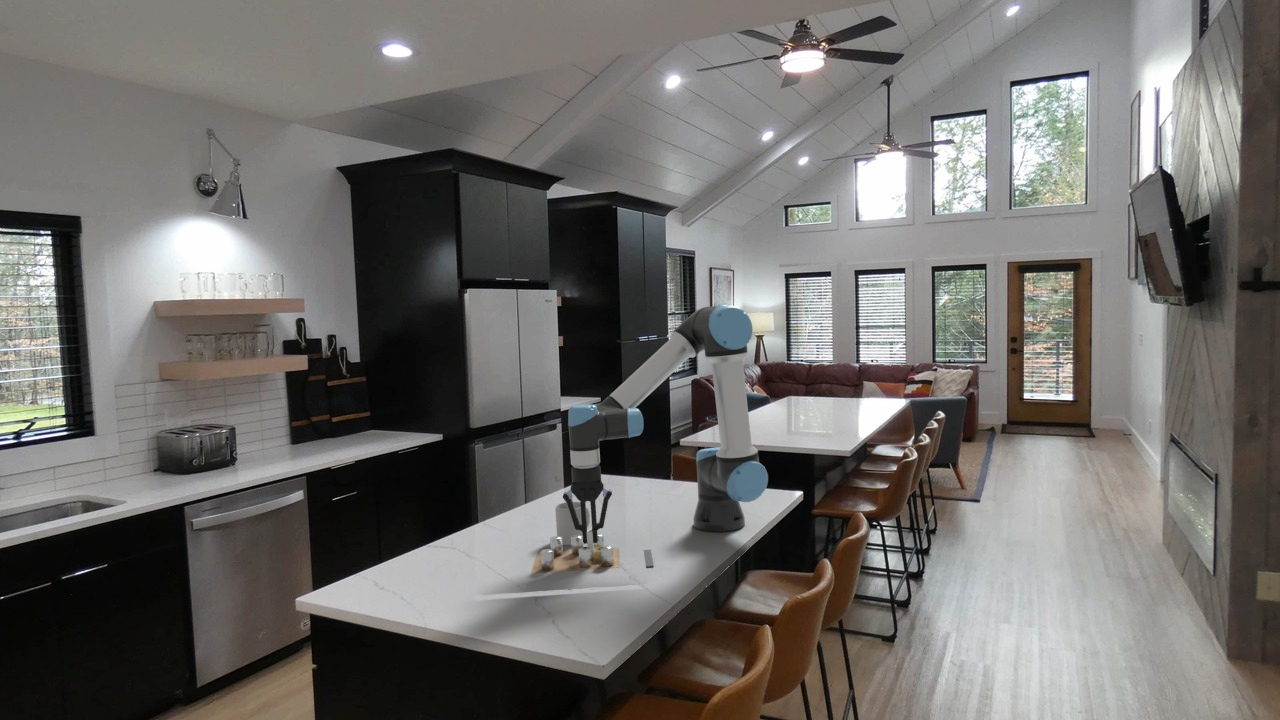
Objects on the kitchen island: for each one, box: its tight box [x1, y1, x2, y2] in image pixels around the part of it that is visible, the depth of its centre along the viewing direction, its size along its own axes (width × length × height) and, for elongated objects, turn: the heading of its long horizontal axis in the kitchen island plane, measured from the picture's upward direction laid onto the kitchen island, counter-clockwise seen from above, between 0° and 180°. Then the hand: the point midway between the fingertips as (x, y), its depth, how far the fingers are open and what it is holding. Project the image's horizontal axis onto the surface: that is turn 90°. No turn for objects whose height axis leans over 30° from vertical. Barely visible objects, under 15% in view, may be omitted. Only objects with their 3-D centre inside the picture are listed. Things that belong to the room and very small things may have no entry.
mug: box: [555, 501, 591, 546], centre depth 213 cm, size 12×8×11 cm
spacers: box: [540, 532, 614, 571], centre depth 195 cm, size 18×14×4 cm
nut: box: [593, 546, 602, 562], centre depth 195 cm, size 4×4×3 cm
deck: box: [530, 547, 621, 574], centre depth 195 cm, size 22×16×1 cm
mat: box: [643, 549, 655, 568], centre depth 195 cm, size 8×13×1 cm, turn 2°
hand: (591, 555), depth 195 cm, fingers closed
